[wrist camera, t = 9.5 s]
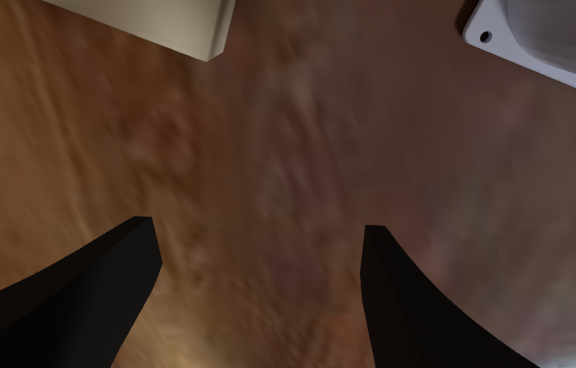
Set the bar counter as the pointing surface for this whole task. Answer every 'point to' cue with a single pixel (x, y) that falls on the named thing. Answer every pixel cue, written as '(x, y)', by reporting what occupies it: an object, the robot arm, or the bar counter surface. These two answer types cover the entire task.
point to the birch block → (164, 21)
